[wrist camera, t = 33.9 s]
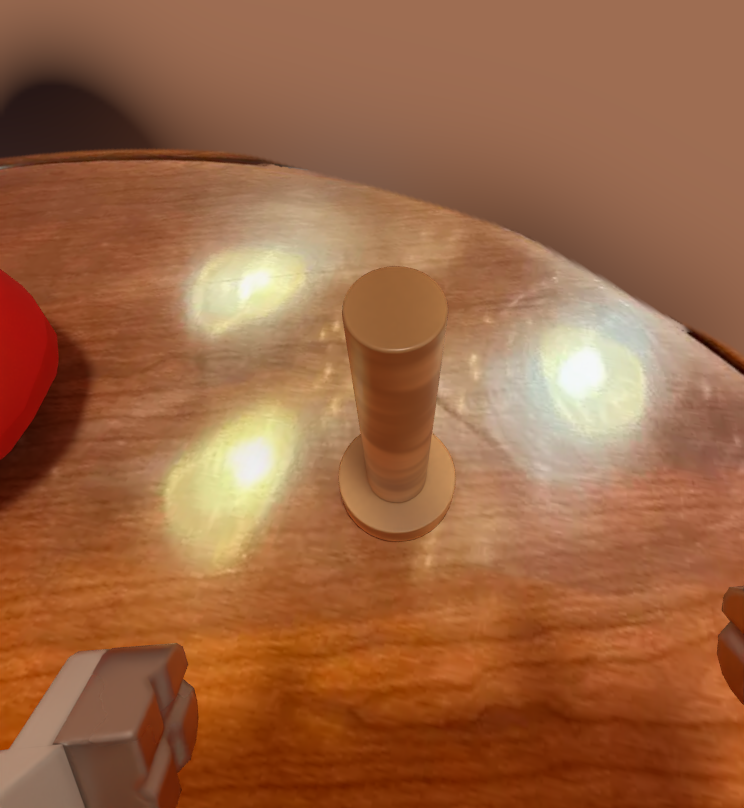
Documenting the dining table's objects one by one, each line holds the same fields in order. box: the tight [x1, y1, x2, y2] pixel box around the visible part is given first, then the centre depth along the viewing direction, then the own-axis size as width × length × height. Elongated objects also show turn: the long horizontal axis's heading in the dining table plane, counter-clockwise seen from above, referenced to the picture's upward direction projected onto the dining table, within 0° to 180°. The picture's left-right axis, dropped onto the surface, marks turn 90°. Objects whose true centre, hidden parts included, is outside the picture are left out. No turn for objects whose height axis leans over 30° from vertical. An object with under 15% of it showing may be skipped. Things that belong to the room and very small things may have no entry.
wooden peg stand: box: [338, 266, 456, 541], centre depth 20 cm, size 5×5×14 cm
